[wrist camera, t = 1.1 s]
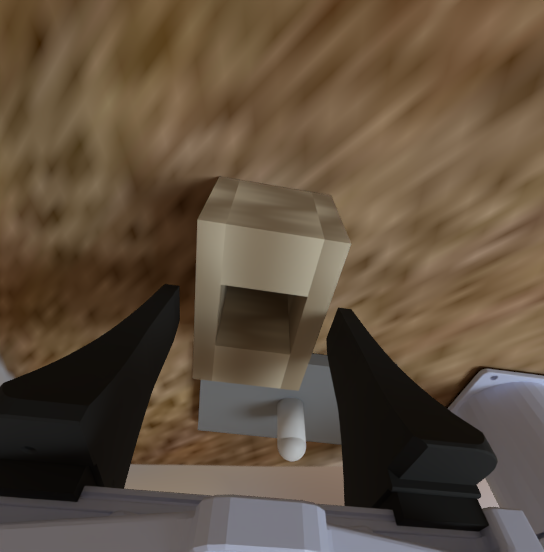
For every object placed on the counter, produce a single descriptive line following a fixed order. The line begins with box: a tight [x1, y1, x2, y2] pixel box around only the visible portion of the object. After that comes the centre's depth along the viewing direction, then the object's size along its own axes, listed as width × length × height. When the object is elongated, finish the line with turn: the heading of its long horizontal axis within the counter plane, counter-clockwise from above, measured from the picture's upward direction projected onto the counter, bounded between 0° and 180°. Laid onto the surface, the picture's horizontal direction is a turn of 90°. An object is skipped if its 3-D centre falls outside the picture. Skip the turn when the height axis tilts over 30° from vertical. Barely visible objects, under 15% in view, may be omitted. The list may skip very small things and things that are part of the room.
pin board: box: [198, 354, 397, 461], centre depth 23 cm, size 14×10×5 cm
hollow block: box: [193, 176, 351, 391], centre depth 16 cm, size 6×9×5 cm, turn 171°
